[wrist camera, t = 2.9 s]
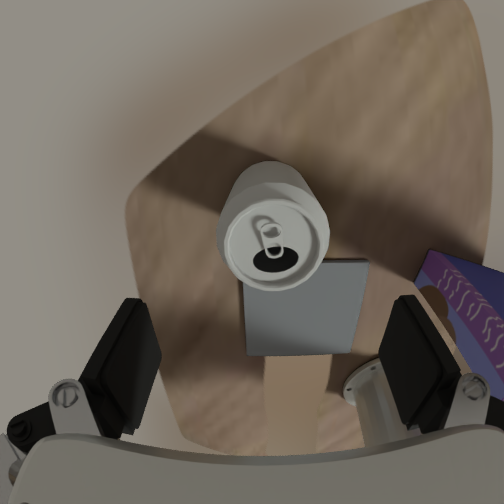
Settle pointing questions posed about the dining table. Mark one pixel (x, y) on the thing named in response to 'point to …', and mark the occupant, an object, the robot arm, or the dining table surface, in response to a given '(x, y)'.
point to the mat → (307, 312)
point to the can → (272, 228)
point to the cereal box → (468, 311)
